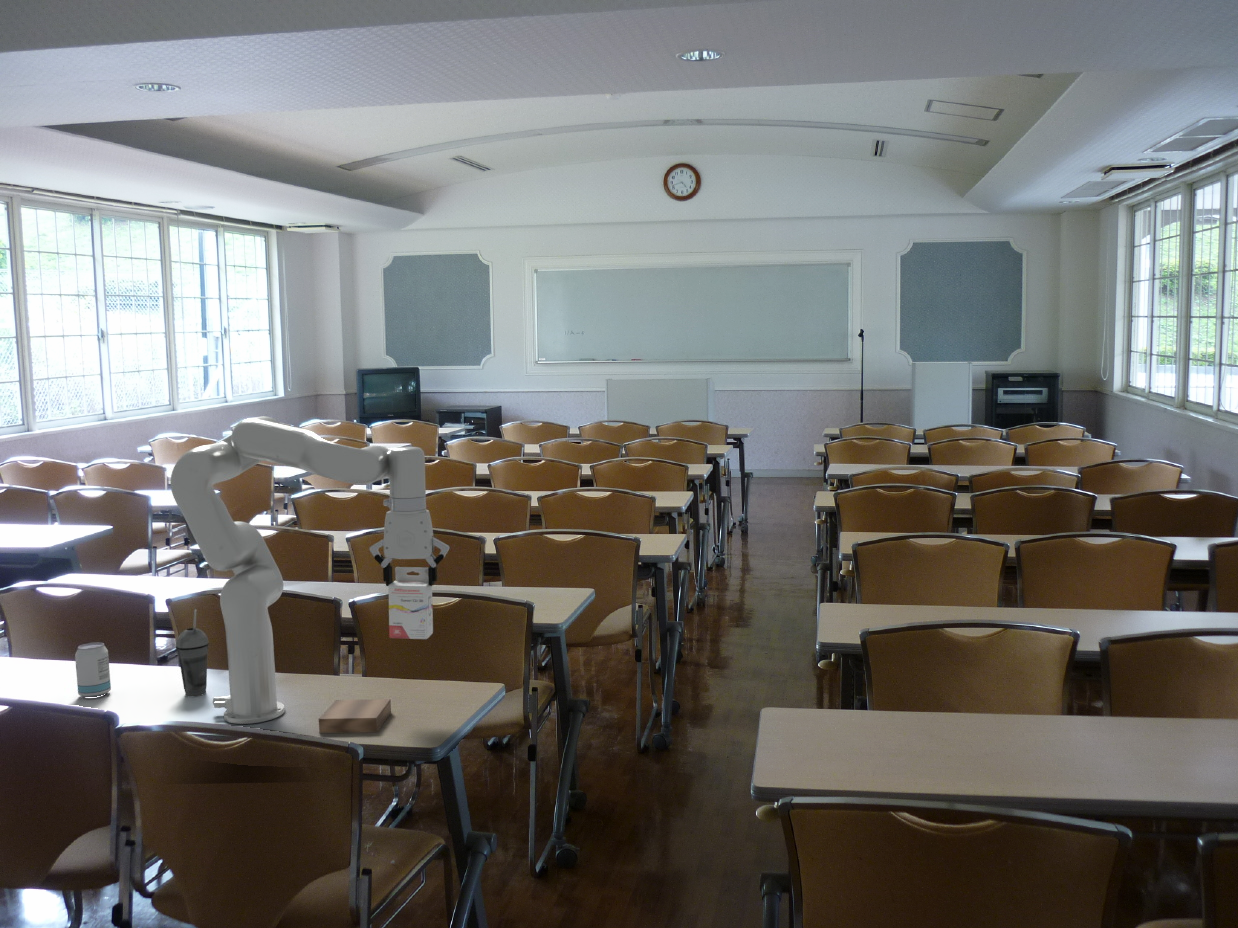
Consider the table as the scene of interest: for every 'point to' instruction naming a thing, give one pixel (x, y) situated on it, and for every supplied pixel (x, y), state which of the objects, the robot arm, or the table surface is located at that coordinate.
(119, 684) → the table surface
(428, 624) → the ink cartridge box
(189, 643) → the beverage cup
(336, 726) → the walnut base plate
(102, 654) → the beverage can
